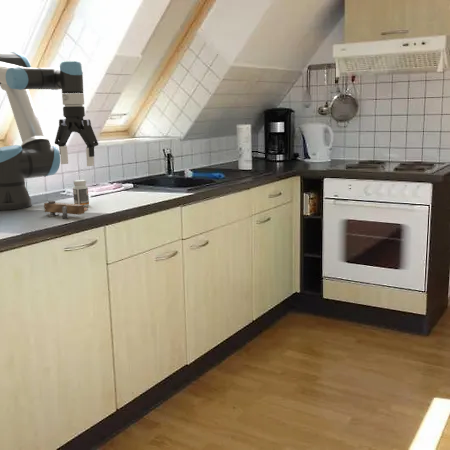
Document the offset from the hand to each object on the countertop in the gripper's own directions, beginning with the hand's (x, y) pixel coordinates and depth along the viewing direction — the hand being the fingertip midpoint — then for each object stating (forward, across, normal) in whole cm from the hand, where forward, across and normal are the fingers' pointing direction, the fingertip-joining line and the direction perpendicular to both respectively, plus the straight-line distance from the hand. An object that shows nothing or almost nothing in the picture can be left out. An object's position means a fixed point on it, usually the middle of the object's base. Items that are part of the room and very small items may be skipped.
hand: (77, 164), depth 215 cm
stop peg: (+17, +7, -14) cm, 23 cm away
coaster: (+17, -2, -2) cm, 17 cm away
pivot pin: (+17, -2, -12) cm, 21 cm away
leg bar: (+16, +4, -11) cm, 19 cm away
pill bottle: (+17, -7, +7) cm, 20 cm away
